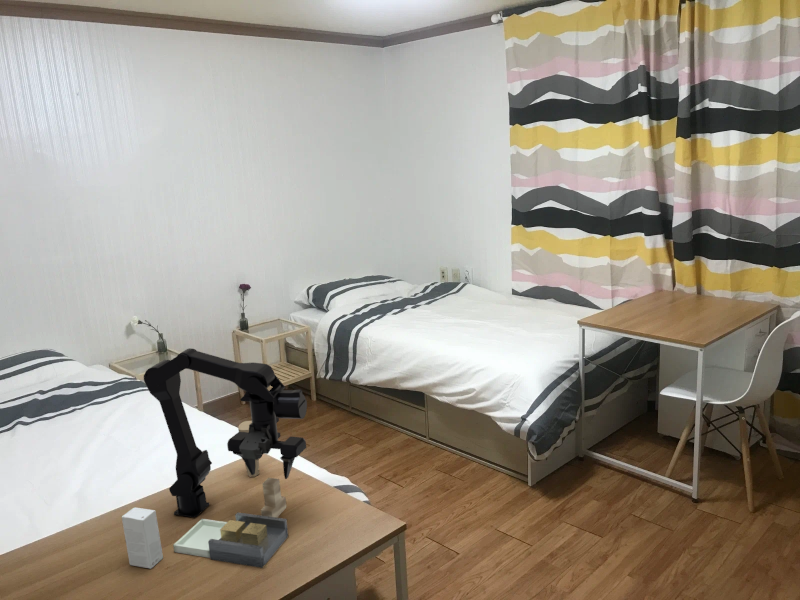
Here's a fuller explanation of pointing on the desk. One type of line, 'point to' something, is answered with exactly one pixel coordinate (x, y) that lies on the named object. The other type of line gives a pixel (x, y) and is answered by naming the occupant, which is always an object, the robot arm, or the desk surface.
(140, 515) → the skincare box
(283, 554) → the desk surface
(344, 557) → the desk surface
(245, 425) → the handle
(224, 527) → the wooden block
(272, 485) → the pale step bench
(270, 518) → the slot rail
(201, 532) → the tray
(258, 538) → the chip
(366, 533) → the desk surface
